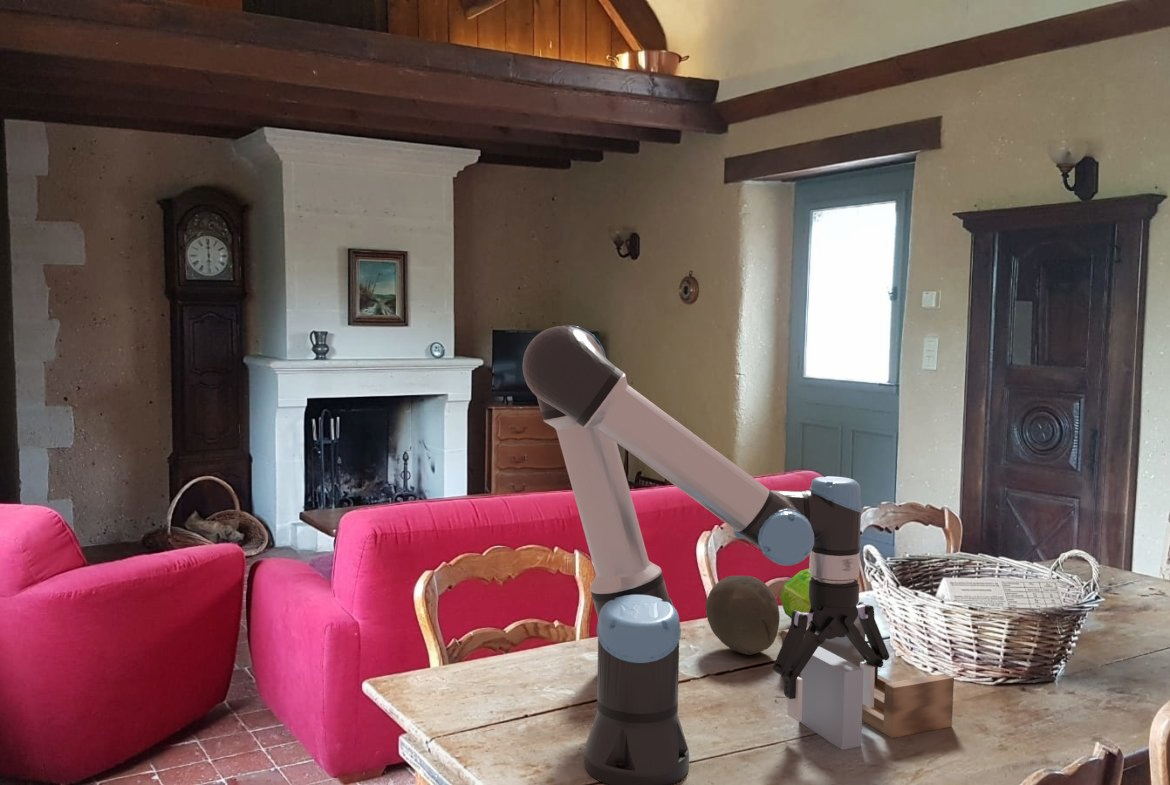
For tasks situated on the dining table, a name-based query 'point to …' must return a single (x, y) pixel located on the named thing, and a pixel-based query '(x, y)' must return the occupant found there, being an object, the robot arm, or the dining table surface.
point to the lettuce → (796, 594)
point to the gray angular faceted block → (833, 698)
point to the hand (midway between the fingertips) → (830, 711)
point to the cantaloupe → (743, 614)
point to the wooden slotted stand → (900, 696)
